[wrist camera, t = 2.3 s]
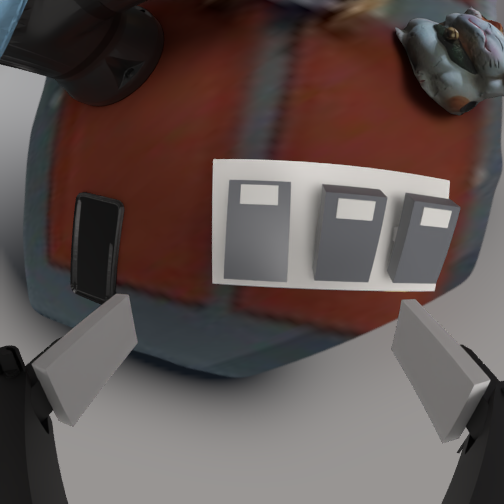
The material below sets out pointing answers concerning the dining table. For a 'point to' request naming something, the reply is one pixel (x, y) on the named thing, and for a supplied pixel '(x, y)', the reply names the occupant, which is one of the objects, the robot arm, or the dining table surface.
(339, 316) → the dining table surface
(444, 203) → the rocker
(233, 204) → the block
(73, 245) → the phone
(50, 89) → the dining table surface
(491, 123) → the dining table surface
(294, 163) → the switch unit
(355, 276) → the rocker
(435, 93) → the lucky cat figurine
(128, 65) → the robot arm
